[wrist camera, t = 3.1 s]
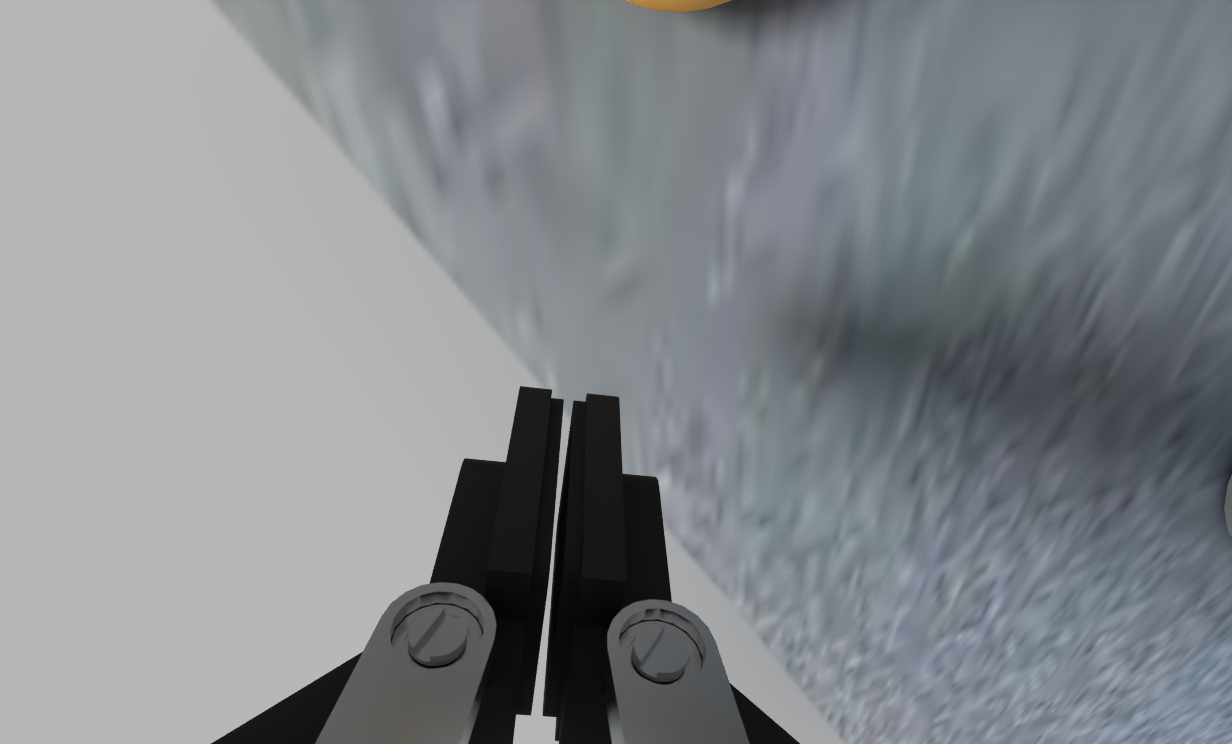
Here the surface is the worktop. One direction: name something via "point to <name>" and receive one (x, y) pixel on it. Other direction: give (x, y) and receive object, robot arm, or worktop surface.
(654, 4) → the ball
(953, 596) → the worktop surface
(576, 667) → the robot arm
